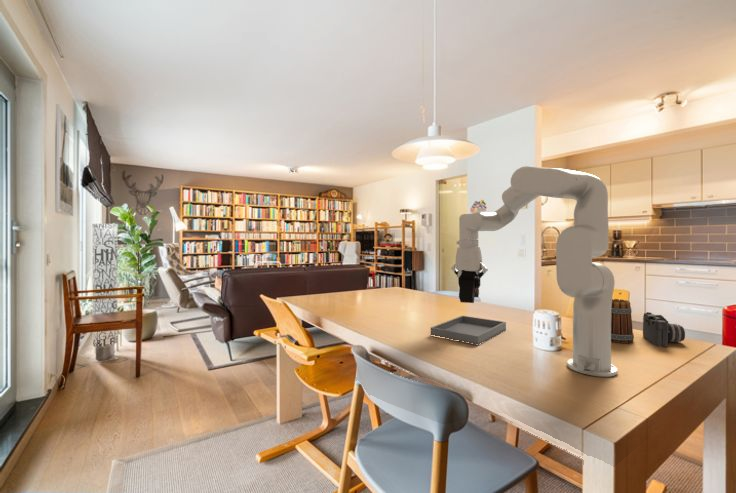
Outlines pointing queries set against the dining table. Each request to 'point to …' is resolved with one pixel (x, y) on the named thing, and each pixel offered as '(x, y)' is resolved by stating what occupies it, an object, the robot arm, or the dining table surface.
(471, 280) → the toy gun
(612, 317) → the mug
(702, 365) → the dining table surface
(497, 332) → the tray
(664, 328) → the camera
